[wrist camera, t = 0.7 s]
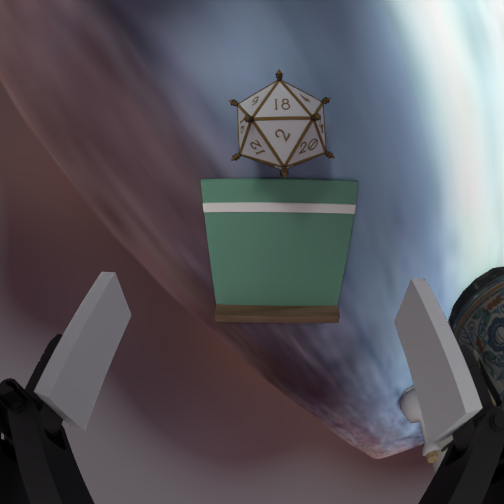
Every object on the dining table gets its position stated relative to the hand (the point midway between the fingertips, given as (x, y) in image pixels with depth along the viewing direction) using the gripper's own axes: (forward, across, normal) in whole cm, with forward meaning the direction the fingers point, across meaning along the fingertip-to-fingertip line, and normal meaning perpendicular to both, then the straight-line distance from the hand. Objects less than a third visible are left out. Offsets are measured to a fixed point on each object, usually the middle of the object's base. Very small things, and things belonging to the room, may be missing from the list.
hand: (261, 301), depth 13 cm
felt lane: (+19, +1, -10) cm, 22 cm away
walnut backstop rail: (+19, +1, -19) cm, 27 cm away
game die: (+20, +1, +4) cm, 20 cm away
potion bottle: (+19, +34, -46) cm, 60 cm away
